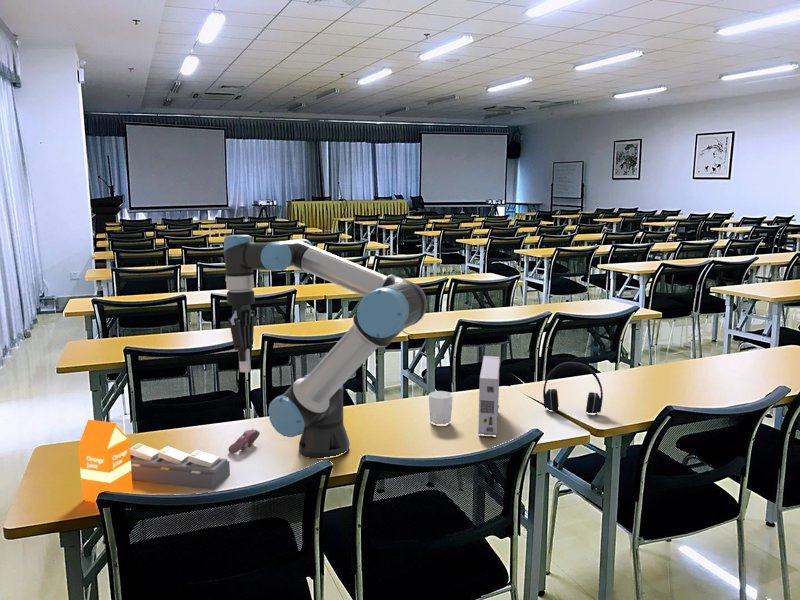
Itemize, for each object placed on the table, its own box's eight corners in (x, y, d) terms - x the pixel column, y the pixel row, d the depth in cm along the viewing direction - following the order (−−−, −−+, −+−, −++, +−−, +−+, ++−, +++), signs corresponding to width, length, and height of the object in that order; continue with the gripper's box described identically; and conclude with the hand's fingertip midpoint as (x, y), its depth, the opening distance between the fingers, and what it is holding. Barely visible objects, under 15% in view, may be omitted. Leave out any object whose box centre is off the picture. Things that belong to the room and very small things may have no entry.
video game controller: (238, 460, 186) (246, 441, 184) (226, 451, 187) (234, 433, 185) (256, 447, 195) (264, 429, 193) (244, 439, 196) (252, 421, 194)
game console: (498, 411, 223) (500, 356, 220) (496, 440, 197) (498, 379, 193) (482, 410, 224) (483, 355, 221) (478, 439, 198) (479, 378, 194)
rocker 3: (218, 462, 170) (219, 456, 169) (211, 468, 166) (211, 462, 165) (195, 455, 171) (196, 449, 171) (187, 461, 167) (188, 455, 167)
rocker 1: (159, 456, 174) (160, 450, 174) (150, 462, 170) (151, 456, 170) (137, 448, 175) (138, 442, 175) (128, 453, 171) (129, 448, 171)
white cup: (457, 424, 210) (457, 395, 208) (438, 429, 206) (438, 400, 204) (442, 417, 217) (442, 389, 215) (423, 422, 212) (424, 393, 211)
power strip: (230, 474, 172) (229, 457, 172) (212, 489, 164) (211, 471, 163) (140, 464, 179) (139, 447, 178) (119, 478, 170) (118, 460, 170)
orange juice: (105, 487, 165) (99, 414, 162) (133, 491, 163) (127, 417, 159) (82, 500, 158) (75, 424, 155) (111, 505, 155) (105, 428, 152)
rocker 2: (188, 459, 172) (189, 454, 171) (180, 465, 168) (181, 460, 168) (166, 451, 173) (167, 445, 173) (157, 456, 169) (158, 451, 169)
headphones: (541, 413, 221) (544, 363, 218) (543, 407, 227) (545, 358, 224) (601, 419, 215) (604, 367, 212) (601, 412, 222) (604, 362, 219)
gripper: (238, 286, 184) (242, 365, 188) (217, 293, 172) (222, 377, 175) (262, 287, 183) (266, 365, 186) (242, 293, 170) (247, 378, 174)
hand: (245, 371), depth 181 cm, fingers closed
